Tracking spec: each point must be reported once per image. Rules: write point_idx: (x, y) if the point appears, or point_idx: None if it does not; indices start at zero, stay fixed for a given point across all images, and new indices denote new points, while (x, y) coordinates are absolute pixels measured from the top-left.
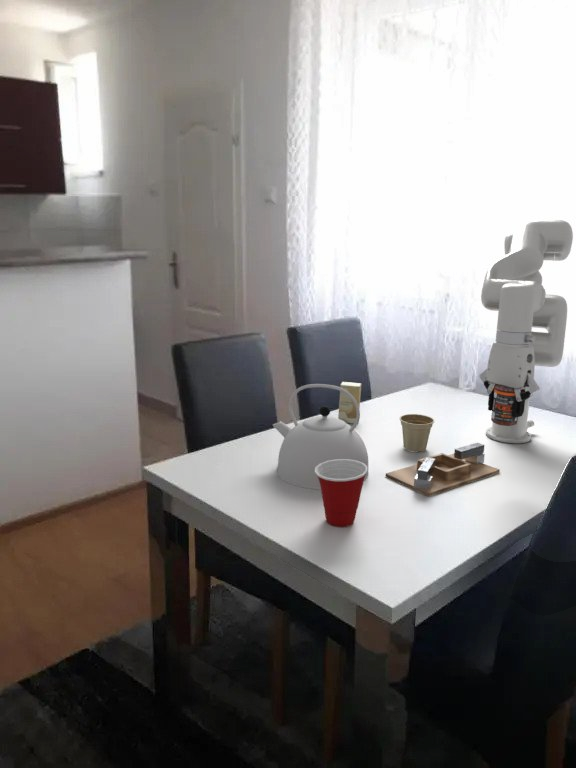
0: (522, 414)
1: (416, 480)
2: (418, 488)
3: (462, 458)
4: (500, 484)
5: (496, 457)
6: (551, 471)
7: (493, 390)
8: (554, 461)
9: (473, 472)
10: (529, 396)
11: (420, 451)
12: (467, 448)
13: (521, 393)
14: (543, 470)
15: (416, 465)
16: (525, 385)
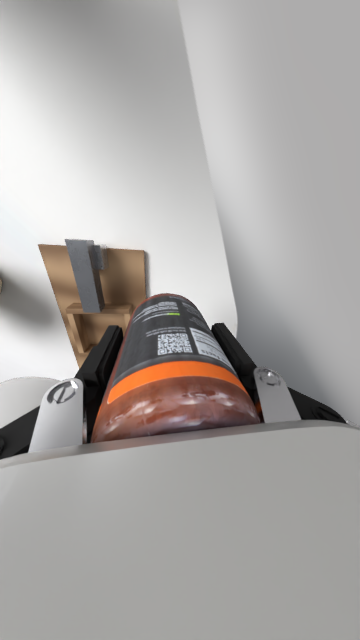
0: (223, 324)
1: None
2: None
3: (104, 303)
4: (173, 289)
5: (79, 168)
6: (196, 145)
7: (91, 426)
8: (167, 35)
9: (130, 296)
10: (304, 403)
11: (1, 284)
12: (90, 291)
13: (258, 405)
14: (183, 156)
15: (72, 339)
16: (308, 429)
